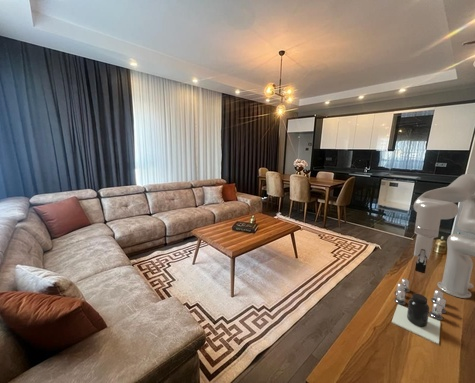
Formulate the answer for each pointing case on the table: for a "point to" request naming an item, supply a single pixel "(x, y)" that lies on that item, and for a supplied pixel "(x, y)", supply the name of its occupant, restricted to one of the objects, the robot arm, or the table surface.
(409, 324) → the sage pad
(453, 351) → the table surface
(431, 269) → the table surface
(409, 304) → the supplement bottle
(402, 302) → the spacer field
